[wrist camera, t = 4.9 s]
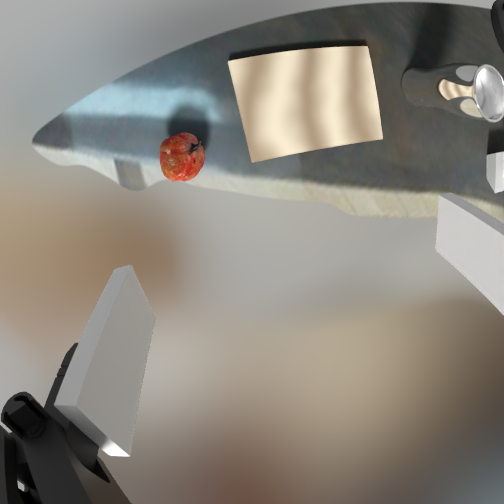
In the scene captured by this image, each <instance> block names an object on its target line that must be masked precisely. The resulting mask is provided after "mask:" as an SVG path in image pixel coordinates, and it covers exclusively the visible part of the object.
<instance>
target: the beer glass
mask: <svg viewBox="0 0 504 504" xmlns="http://www.w3.org/2000/svg"><path fill="white" fill-rule="evenodd" d="M401 86H402V91H403V94H404V96H405V98H406V99H407V100H408V102H410V103H411V104H412V105H414V106H416V107H426V106H434V107H437V108H440V109H442V110H444V111H447V112H449V113H452V114H454V115H457V116H460V117H464V118H468V119H474V120H481V121H490V122H498V121H499V120H501V119H502V118H503V116H504V80H503V78H502V76H501V75H500V73H499V72H498V71H497V70H496V69H495V68H494V67H492V66H491V65H484V64H477V63H466V62H460V63H451V64H446V65H443V66H439V67H436V68H433V69H422V68H417V67H413V68H410V69H408V70H407V71H406V72H405V73H404V74H403V77H402V81H401Z"/></svg>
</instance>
